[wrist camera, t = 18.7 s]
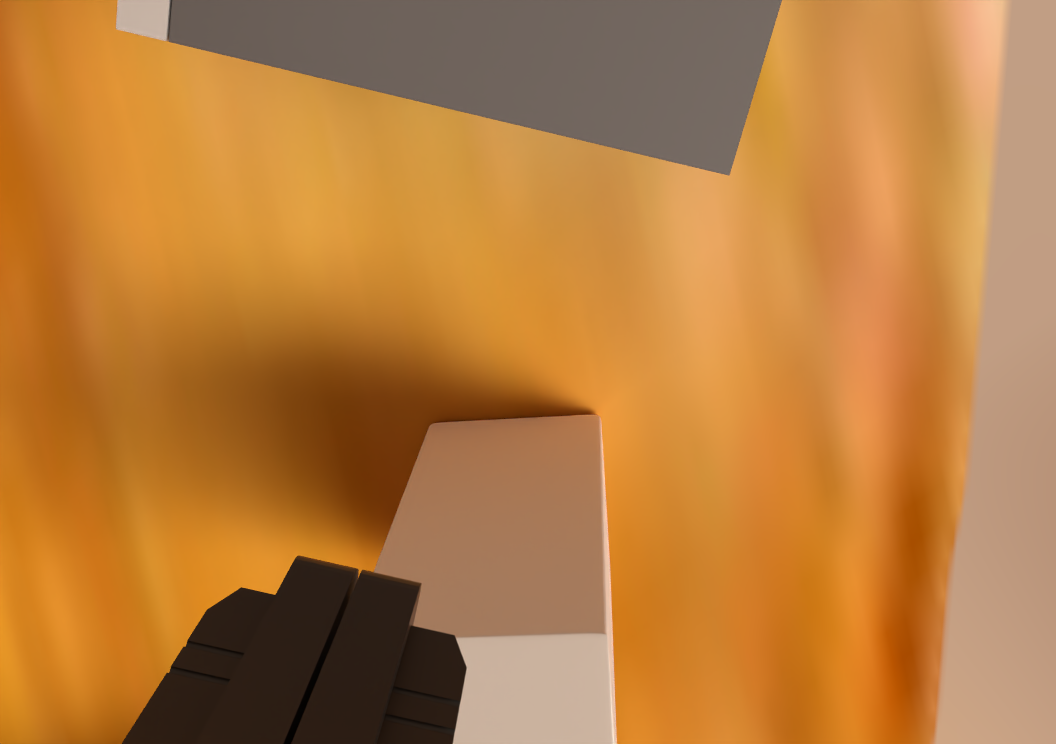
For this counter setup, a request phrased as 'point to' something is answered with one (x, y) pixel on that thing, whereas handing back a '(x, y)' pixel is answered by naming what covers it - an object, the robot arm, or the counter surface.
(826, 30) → the counter surface
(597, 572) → the milk carton
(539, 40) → the cabinet
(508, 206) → the counter surface
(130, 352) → the counter surface
